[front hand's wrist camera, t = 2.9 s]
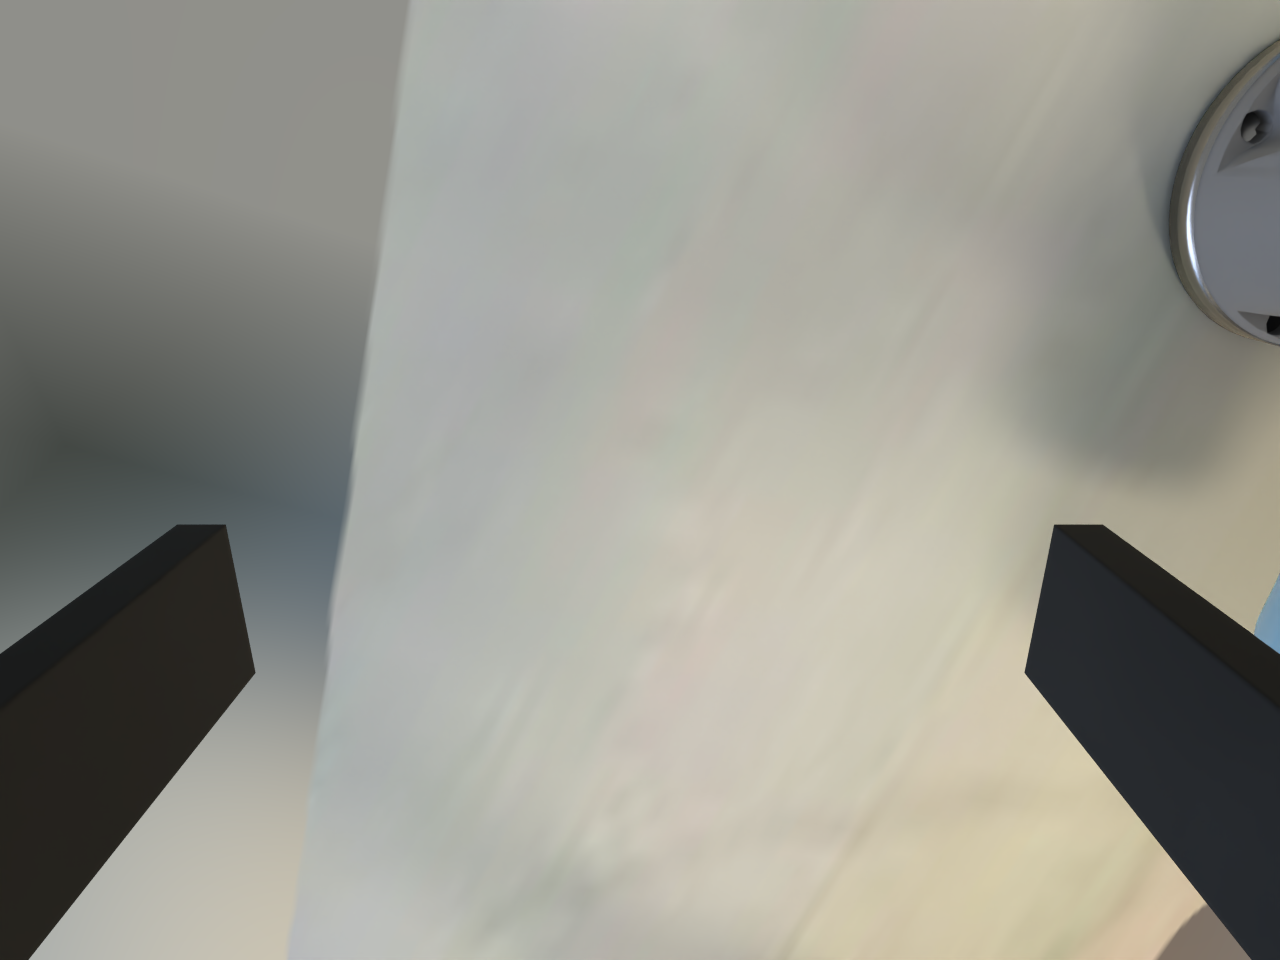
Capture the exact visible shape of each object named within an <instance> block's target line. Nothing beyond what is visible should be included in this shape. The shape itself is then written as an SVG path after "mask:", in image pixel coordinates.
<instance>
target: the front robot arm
mask: <svg viewBox="0 0 1280 960" xmlns="http://www.w3.org/2000/svg"><path fill="white" fill-rule="evenodd" d="M1169 236H1170V244H1171V251H1172V255H1173V260H1174V264H1175V267H1176V270H1177V272H1178V275H1179V278H1180V280H1181V282H1182V284H1183V286H1184V288H1185V290H1186V291H1187V293H1188V294H1189V296H1190V297H1191V299H1192V300H1193V301H1194V303H1195V304H1196V305H1197V306H1198V307H1199V309H1200V310H1201V311H1202V312H1204V313H1205V314H1206V315H1207V316H1208V317H1209V318H1210V319H1211V320H1213V321H1214V322H1216V323H1217V324H1218V325H1220V326H1222V327H1223V328H1225V329H1227V330H1229V331H1231V332H1233V333H1235V334H1238V335H1240V336H1243V337H1246V338H1250V339H1253V340H1257V341H1261V342H1265V343H1269V344H1273V345H1277V346H1280V40H1278V41H1277V42H1275V43H1274V44H1273V45H1271V46H1270V47H1268V48H1267V49H1265V50H1264V51H1263V52H1262V53H1260V54H1259V55H1258V56H1257V57H1255V58H1254V59H1253V60H1252V61H1250V62H1249V63H1248V64H1247V65H1246V66H1245V67H1244V68H1243V69H1242V70H1241V71H1240V72H1239V73H1238V74H1237V75H1236V76H1235V77H1234V78H1233V79H1232V80H1231V81H1230V82H1229V83H1228V84H1227V86H1226V87H1225V88H1224V89H1223V90H1222V91H1221V93H1220V94H1219V95H1218V96H1217V98H1216V99H1215V100H1214V102H1213V103H1212V104H1211V106H1210V107H1209V109H1208V110H1207V112H1206V113H1205V115H1204V116H1203V118H1202V119H1201V121H1200V122H1199V124H1198V126H1197V128H1196V130H1195V131H1194V133H1193V135H1192V137H1191V139H1190V141H1189V143H1188V146H1187V148H1186V150H1185V152H1184V155H1183V157H1182V160H1181V163H1180V166H1179V168H1178V171H1177V175H1176V179H1175V183H1174V186H1173V192H1172V197H1171V203H1170V215H1169ZM254 674H255V668H254V663H253V658H252V653H251V648H250V643H249V638H248V633H247V628H246V623H245V618H244V613H243V609H242V603H241V598H240V593H239V588H238V583H237V579H236V573H235V568H234V563H233V559H232V554H231V549H230V544H229V539H228V534H227V529H226V525H176V526H175V527H173V528H172V529H171V530H169V531H168V532H167V533H165V534H164V535H163V536H161V537H160V538H158V539H157V540H156V541H154V542H153V543H152V544H150V545H149V546H147V547H146V548H145V549H143V550H142V551H141V552H139V553H138V554H137V555H135V556H134V557H132V558H131V559H130V560H128V561H127V562H126V563H124V564H123V565H121V566H120V567H119V568H117V569H116V570H115V571H113V572H112V573H110V574H109V575H108V576H106V577H105V578H104V579H102V580H101V581H100V582H98V583H97V584H95V585H94V586H93V587H91V588H90V589H89V590H87V591H86V592H84V593H83V594H82V595H80V596H79V597H78V598H76V599H75V600H73V601H72V602H71V603H69V604H68V605H67V606H65V607H64V608H63V609H61V610H60V611H58V612H57V613H56V614H54V615H53V616H52V617H50V618H49V619H48V620H46V621H45V622H43V623H42V624H41V625H39V626H38V627H37V628H35V629H34V630H32V631H31V632H30V633H28V634H27V635H26V636H24V637H23V638H21V639H20V640H19V641H17V642H16V643H15V644H13V645H12V646H10V647H9V648H8V649H6V650H5V651H4V652H2V653H1V654H0V960H29V958H30V957H31V956H32V954H33V953H34V952H35V951H36V950H37V948H38V947H39V946H40V944H41V943H42V942H43V941H44V939H45V938H46V937H47V936H48V934H49V933H50V932H51V931H52V929H53V928H54V927H55V925H56V924H57V923H58V922H59V920H60V919H61V918H62V917H63V915H64V914H65V913H66V912H67V910H68V909H69V908H70V907H71V905H72V904H73V903H74V901H75V900H76V899H77V898H78V896H79V895H80V894H81V893H82V891H83V890H84V889H85V888H86V886H87V885H88V884H89V883H90V881H91V880H92V879H93V877H94V876H95V875H96V874H97V872H98V871H99V870H100V869H101V867H102V866H103V865H104V864H105V862H106V861H107V860H108V858H109V857H110V856H111V855H112V853H113V852H114V851H115V850H116V848H117V847H118V846H119V845H120V843H121V842H122V841H123V840H124V838H125V837H126V836H127V835H128V833H129V832H130V831H131V829H132V828H133V827H134V826H135V824H136V823H137V822H138V821H139V819H140V818H141V817H142V816H143V814H144V813H145V812H146V811H147V809H148V808H149V807H150V805H151V804H152V803H153V802H154V800H155V799H156V798H157V797H158V795H159V794H160V793H161V792H162V790H163V789H164V788H165V786H166V785H167V784H168V783H169V781H170V780H171V779H172V778H173V776H174V775H175V774H176V773H177V771H178V770H179V769H180V768H181V766H182V765H183V764H184V762H185V761H186V760H187V759H188V757H189V756H190V755H191V754H192V752H193V751H194V750H195V749H196V747H197V746H198V745H199V744H200V742H201V741H202V740H203V738H204V737H205V736H206V735H207V733H208V732H209V731H210V730H211V728H212V727H213V726H214V724H215V723H216V722H217V721H218V720H219V718H220V717H221V716H222V714H223V713H224V712H225V711H226V709H227V708H228V707H229V706H230V704H231V703H232V702H233V701H234V699H235V698H236V697H237V696H238V694H239V693H240V692H241V690H242V689H243V688H244V687H245V685H246V684H247V683H248V682H249V680H250V679H251V678H252V677H253V675H254ZM1025 674H1026V675H1027V677H1028V678H1029V679H1030V680H1031V682H1032V683H1033V684H1034V685H1035V687H1036V688H1037V689H1038V690H1039V692H1040V693H1041V694H1042V696H1043V697H1044V698H1045V699H1046V701H1047V702H1048V703H1049V704H1050V706H1051V707H1052V708H1053V709H1054V711H1055V712H1056V713H1057V714H1058V716H1059V717H1060V718H1061V720H1062V721H1063V722H1064V723H1065V725H1066V726H1067V727H1068V728H1069V730H1070V731H1071V732H1072V733H1073V735H1074V736H1075V737H1076V738H1077V740H1078V741H1079V742H1080V744H1081V745H1082V746H1083V747H1084V749H1085V750H1086V751H1087V752H1088V754H1089V755H1090V756H1091V757H1092V759H1093V760H1094V761H1095V762H1096V764H1097V765H1098V766H1099V768H1100V769H1101V770H1102V771H1103V773H1104V774H1105V775H1106V776H1107V778H1108V779H1109V780H1110V781H1111V783H1112V784H1113V785H1114V786H1115V788H1116V789H1117V790H1118V792H1119V793H1120V794H1121V795H1122V797H1123V798H1124V799H1125V800H1126V802H1127V803H1128V804H1129V805H1130V807H1131V808H1132V809H1133V811H1134V812H1135V813H1136V814H1137V816H1138V817H1139V818H1140V819H1141V821H1142V822H1143V823H1144V824H1145V826H1146V827H1147V828H1148V829H1149V831H1150V832H1151V833H1152V835H1153V836H1154V837H1155V838H1156V840H1157V841H1158V842H1159V843H1160V845H1161V846H1162V847H1163V848H1164V850H1165V851H1166V852H1167V853H1168V855H1169V856H1170V857H1171V859H1172V860H1173V861H1174V862H1175V864H1176V865H1177V866H1178V867H1179V869H1180V870H1181V871H1182V872H1183V874H1184V875H1185V876H1186V877H1187V879H1188V880H1189V881H1190V883H1191V884H1192V885H1193V886H1194V888H1195V889H1196V890H1197V891H1198V893H1199V894H1200V895H1201V896H1202V898H1203V899H1204V900H1205V901H1206V903H1207V904H1208V905H1209V907H1210V908H1211V909H1212V910H1213V912H1214V913H1215V914H1216V915H1217V917H1218V918H1219V919H1220V920H1221V922H1222V923H1223V924H1224V925H1225V927H1226V928H1227V929H1228V931H1229V932H1230V933H1231V934H1232V936H1233V937H1234V938H1235V939H1236V941H1237V942H1238V943H1239V944H1240V946H1241V947H1242V948H1243V950H1244V951H1245V952H1246V953H1247V955H1248V956H1249V957H1250V958H1251V960H1280V574H1279V576H1278V578H1277V580H1276V582H1275V585H1274V587H1273V589H1272V591H1271V593H1270V595H1269V597H1268V599H1267V601H1266V603H1265V605H1264V607H1263V609H1262V611H1261V613H1260V615H1259V617H1258V620H1257V623H1256V627H1255V632H1254V635H1253V634H1252V633H1250V632H1249V631H1248V630H1246V629H1245V628H1243V627H1242V626H1241V625H1239V624H1238V623H1237V622H1235V621H1234V620H1233V619H1231V618H1230V617H1228V616H1227V615H1226V614H1224V613H1223V612H1222V611H1220V610H1219V609H1217V608H1216V607H1215V606H1213V605H1212V604H1211V603H1209V602H1208V601H1207V600H1205V599H1204V598H1202V597H1201V596H1200V595H1198V594H1197V593H1196V592H1194V591H1193V590H1191V589H1190V588H1189V587H1187V586H1186V585H1185V584H1183V583H1182V582H1180V581H1179V580H1178V579H1176V578H1175V577H1174V576H1172V575H1171V574H1170V573H1168V572H1167V571H1165V570H1164V569H1163V568H1161V567H1160V566H1159V565H1157V564H1156V563H1154V562H1153V561H1152V560H1150V559H1149V558H1148V557H1146V556H1145V555H1144V554H1142V553H1141V552H1139V551H1138V550H1137V549H1135V548H1134V547H1133V546H1131V545H1130V544H1128V543H1127V542H1126V541H1124V540H1123V539H1122V538H1120V537H1119V536H1117V535H1116V534H1115V533H1113V532H1112V531H1111V530H1109V529H1108V528H1107V527H1105V526H1104V525H1054V529H1053V534H1052V539H1051V544H1050V549H1049V554H1048V559H1047V563H1046V568H1045V573H1044V578H1043V583H1042V588H1041V593H1040V598H1039V603H1038V608H1037V613H1036V618H1035V623H1034V628H1033V633H1032V638H1031V643H1030V648H1029V653H1028V658H1027V663H1026V668H1025Z"/></svg>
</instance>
